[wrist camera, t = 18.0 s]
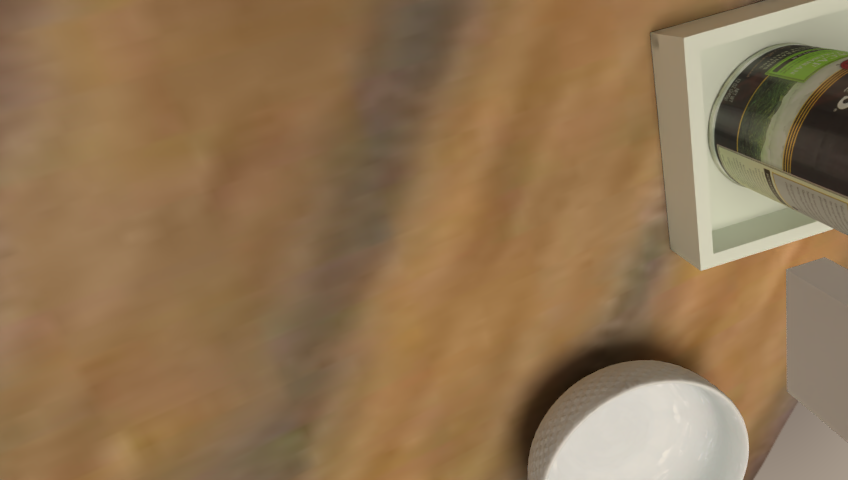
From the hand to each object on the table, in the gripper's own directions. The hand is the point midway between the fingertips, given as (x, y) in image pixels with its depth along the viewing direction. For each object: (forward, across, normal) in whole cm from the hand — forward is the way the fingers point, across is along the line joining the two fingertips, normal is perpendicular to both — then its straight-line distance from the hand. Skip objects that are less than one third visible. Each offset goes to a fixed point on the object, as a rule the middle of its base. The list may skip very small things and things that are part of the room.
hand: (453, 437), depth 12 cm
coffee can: (+32, +29, -9) cm, 44 cm away
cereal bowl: (+33, +14, -31) cm, 47 cm away
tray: (+33, +29, -9) cm, 45 cm away
